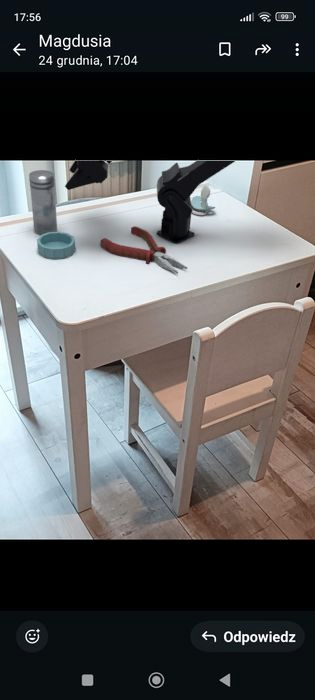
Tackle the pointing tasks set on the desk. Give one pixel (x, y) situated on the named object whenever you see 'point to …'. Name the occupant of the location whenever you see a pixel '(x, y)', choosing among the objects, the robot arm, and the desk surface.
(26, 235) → the desk surface
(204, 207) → the pacifier
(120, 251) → the pliers
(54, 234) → the ring collar
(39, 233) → the piston
